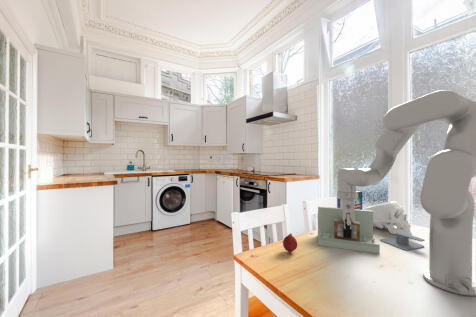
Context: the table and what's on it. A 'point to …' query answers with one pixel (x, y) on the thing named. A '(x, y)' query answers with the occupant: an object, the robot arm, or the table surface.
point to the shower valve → (403, 241)
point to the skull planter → (390, 217)
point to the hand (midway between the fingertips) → (346, 235)
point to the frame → (339, 230)
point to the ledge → (327, 239)
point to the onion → (290, 243)
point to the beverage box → (356, 202)
